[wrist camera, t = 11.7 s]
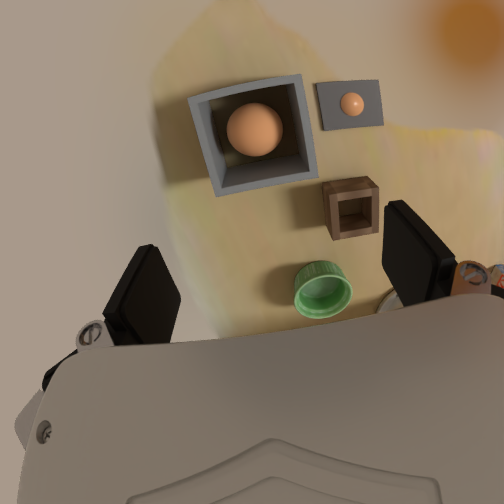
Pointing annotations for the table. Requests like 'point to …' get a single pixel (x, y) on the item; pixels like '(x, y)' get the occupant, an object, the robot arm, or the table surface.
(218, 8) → the table surface
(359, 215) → the brown open box
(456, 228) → the table surface
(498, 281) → the stack of blocks
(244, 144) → the ball
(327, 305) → the ramekin
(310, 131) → the grey hollow box
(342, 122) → the card
